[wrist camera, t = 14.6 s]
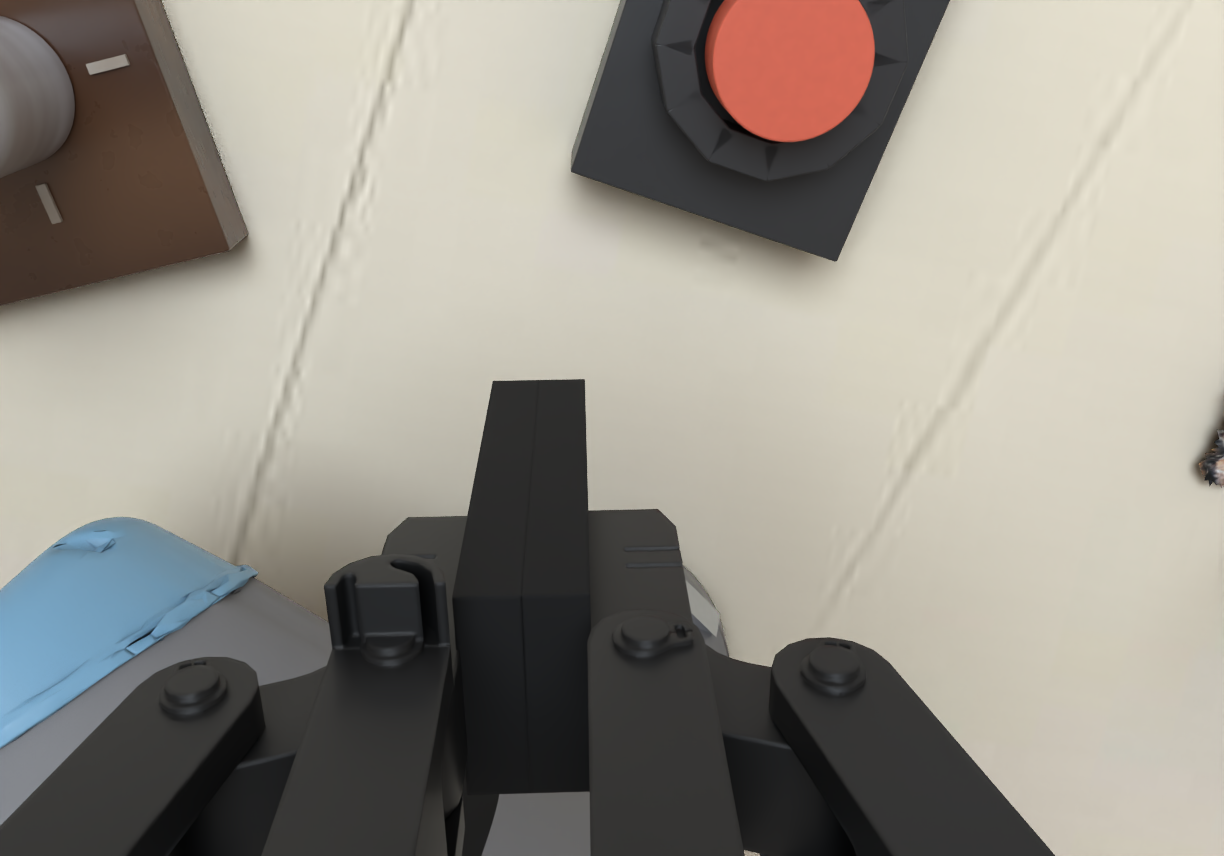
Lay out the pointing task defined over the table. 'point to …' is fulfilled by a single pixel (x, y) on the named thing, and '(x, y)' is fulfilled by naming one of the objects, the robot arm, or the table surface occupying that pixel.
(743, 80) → the red push button
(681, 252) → the table surface
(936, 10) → the button base
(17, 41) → the dial
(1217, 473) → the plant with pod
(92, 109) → the panel
